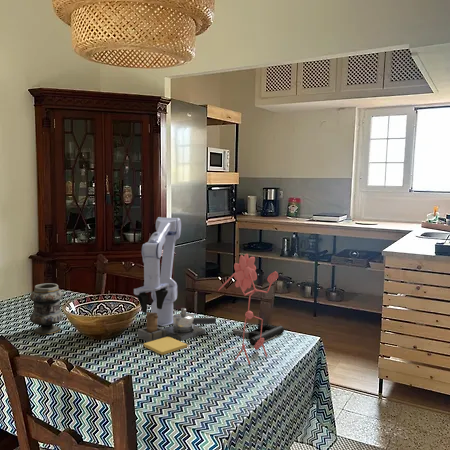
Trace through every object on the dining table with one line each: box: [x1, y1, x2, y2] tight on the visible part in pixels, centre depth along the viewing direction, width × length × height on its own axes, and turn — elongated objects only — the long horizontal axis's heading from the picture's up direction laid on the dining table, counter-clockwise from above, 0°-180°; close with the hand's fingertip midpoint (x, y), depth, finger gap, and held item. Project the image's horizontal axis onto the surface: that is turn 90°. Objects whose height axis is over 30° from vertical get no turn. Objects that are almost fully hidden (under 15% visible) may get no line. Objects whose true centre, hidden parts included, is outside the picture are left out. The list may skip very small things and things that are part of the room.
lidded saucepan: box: [172, 307, 217, 332], centre depth 175 cm, size 16×8×8 cm, turn 96°
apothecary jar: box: [29, 283, 64, 336], centre depth 174 cm, size 12×12×18 cm
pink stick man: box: [218, 253, 280, 365], centre depth 152 cm, size 15×26×35 cm, turn 137°
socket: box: [137, 325, 167, 343], centre depth 169 cm, size 8×8×3 cm
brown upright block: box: [145, 311, 158, 333], centre depth 169 cm, size 6×4×9 cm, turn 44°
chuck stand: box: [162, 324, 206, 341], centre depth 175 cm, size 12×12×2 cm
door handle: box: [232, 323, 285, 346], centre depth 173 cm, size 3×20×16 cm
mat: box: [143, 335, 188, 356], centre depth 160 cm, size 11×11×1 cm
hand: (151, 310), depth 169 cm, fingers open, 6 cm apart
